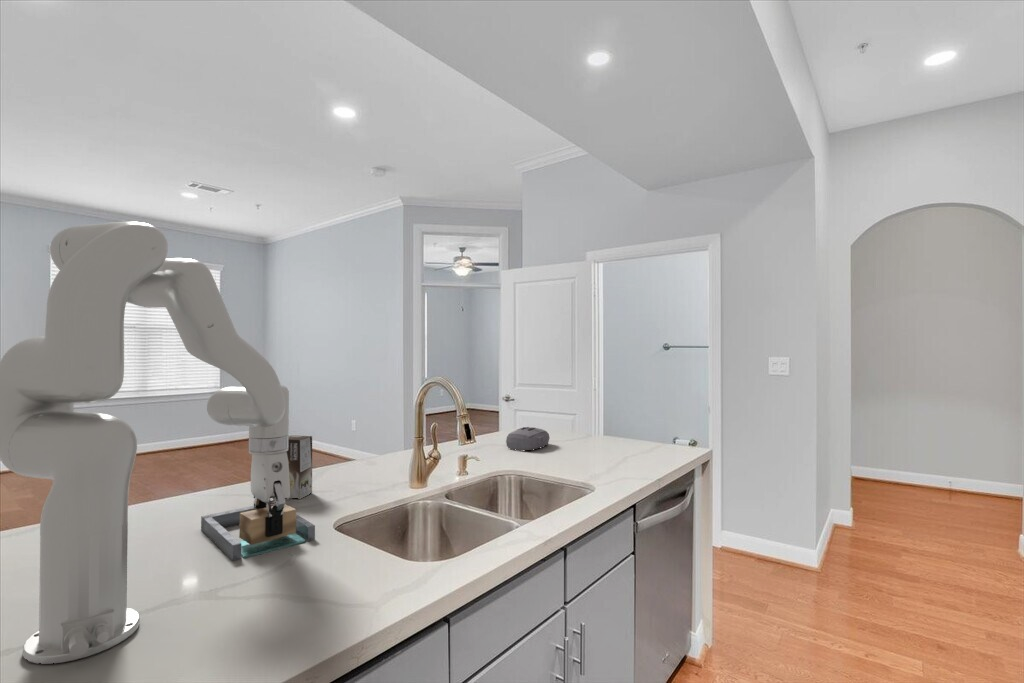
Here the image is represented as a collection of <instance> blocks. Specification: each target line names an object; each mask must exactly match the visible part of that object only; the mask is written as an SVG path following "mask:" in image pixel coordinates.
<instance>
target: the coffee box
mask: <svg viewBox="0 0 1024 683" xmlns="http://www.w3.org/2000/svg"><path fill="white" fill-rule="evenodd" d="M288 435H289V440H288V451H286V452H287V457H288V465H289V483H290V497H289V498H288V499H292V498H298V499H297V500H302V499H303V497H304V498H305V496H306V497H307V495H308V496H310V495H311V494H310V493H312V494H313V436H312V435H292V434H291V435H290V434H288ZM309 494H310V495H309ZM301 498H302V499H301Z"/></svg>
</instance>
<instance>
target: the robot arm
mask: <svg viewBox="0 0 1024 683" xmlns="http://www.w3.org/2000/svg"><path fill="white" fill-rule="evenodd" d="M168 251H169V245H168V240H167V238H166V235H165V234H164V233H163V232H162V231H161V230H160V229H159V228H157V227H156V226H154V225H151V224H149V223H146V222H141V221H140V222H139V221H117V222H116V221H115V222H113V221H112V222H105V223H104V222H103V223H96V224H95V223H93V224H81V225H80V224H79V225H75V226H70V227H67V228H64V229H62V230H60V231H59V232H58V233H57V234H55V235H54V237H53V238H52V240H51V241H50V246H49V253H50V257H51V258H50V259H51V260H52V262H53V264H54V265H55V266H56V268H57V269H58V270H59V271H58V273H56V275H55V277H54V279H53V281H52V282H51V284H50V288H49V292H48V295H47V298H46V299H47V301H46V312H45V314H46V315H45V329H44V330H45V331H44V333H45V334H44V336H43V335H42V336H35V337H30V338H26V339H23V340H22V341H18V343H16V344H14V345H12V346H11V347H10V348H9V349H8V350H7V351H6V352H5V353H4V355H3V356H2V358H1V360H0V461H1V463H2V464H3V466H4V467H5V468H6V469H8V470H9V471H11V472H13V473H14V474H16V475H20V476H23V477H27V478H28V477H29V478H34V479H46V480H52V485H51V488H50V489H49V492H48V494H47V496H46V499H45V501H44V503H43V507H42V509H41V515H40V521H39V522H40V523H39V541H40V542H39V595H38V596H39V603H38V604H39V607H38V609H39V611H38V616H39V618H38V631H36V632H35V633H33V634H32V635H30V636H29V638H28V639H26V641H25V642H24V644H23V646H22V655H23V658H24V659H25V660H26V659H27V660H28V661H27V660H26V661H27V662H29V663H34V664H39V663H41V664H40V665H50V664H51V665H52V664H53V663H54V664H61V663H65V662H67V663H68V662H72V661H75V660H79V659H80V660H81V659H83V658H88V657H91V656H93V655H96V654H98V653H101V652H104V651H106V650H108V649H110V648H113V647H114V646H117V645H118V644H120V643H122V642H123V641H125V640H127V639H128V638H129V637H130V636H132V635H133V634H134V633H135V632H136V631H137V630H138V628H139V626H140V621H141V620H140V613H139V612H138V611H136V610H135V609H133V608H128V606H127V605H128V604H127V602H128V595H127V594H128V536H129V535H128V534H129V532H128V530H129V528H128V525H129V524H128V523H129V522H128V520H129V491H130V483H131V478H132V472H133V468H134V465H135V462H136V461H135V460H136V456H137V451H138V450H137V449H138V438H137V436H136V433H135V431H134V429H133V428H132V427H131V425H130V424H128V423H127V421H125V420H123V419H122V418H119V417H117V416H115V415H111V414H108V413H100V412H89V411H88V412H87V411H85V412H84V411H74V408H75V407H74V404H94V403H100V402H103V401H107V400H109V399H111V398H112V397H114V396H115V395H116V394H117V393H118V392H119V391H120V389H121V388H122V385H123V382H124V377H125V350H124V349H125V313H126V312H125V311H126V306H127V305H126V304H127V303H129V304H132V305H135V306H137V307H142V308H152V309H153V308H155V309H156V308H165V309H166V310H167V312H168V316H170V318H171V321H172V322H173V324H174V326H175V329H176V330H177V333H178V335H179V337H180V339H181V341H182V343H183V345H184V347H185V348H184V349H185V350H186V351H187V352H188V353H189V354H190V355H191V356H193V357H194V358H196V359H198V360H200V361H202V362H203V363H205V364H209V365H211V366H213V367H215V368H217V369H220V370H221V371H223V372H225V373H227V374H229V375H230V376H232V378H234V379H235V380H236V381H237V382H238V383H239V384H240V385H242V386H227V387H222V388H220V389H218V390H217V391H215V392H214V393H213V394H211V396H210V397H209V399H208V401H207V403H206V404H207V405H206V411H207V414H208V416H209V417H210V418H211V420H213V421H214V422H216V423H217V424H220V425H225V426H239V427H242V426H244V427H248V454H250V455H251V466H250V467H251V468H250V492H251V495H252V496H253V499H254V501H253V506H254V508H257V509H261V508H265V507H266V508H267V516H268V517H266V518H265V536H266V537H271V536H275V535H279V534H282V532H283V508H284V505H285V504H286V500H289V499H290V498H289V497H290V483H289V465H288V457H287V452H286V451H288V440H289V435H290V434H289V433H290V432H289V430H290V429H289V428H290V426H289V425H290V422H289V421H290V418H289V416H290V415H289V414H290V407H289V406H290V393H289V392H290V391H289V389H288V387H287V386H285V385H282V384H281V382H280V380H279V378H278V375H277V372H276V371H275V369H274V368H273V366H272V364H271V363H270V362H269V361H268V359H267V358H265V357H264V356H263V355H262V354H261V353H260V352H259V351H258V350H256V348H254V347H253V345H252V344H250V343H248V342H247V341H246V340H245V339H243V338H242V337H241V336H240V335H239V334H238V332H237V330H236V328H235V326H234V323H233V321H232V318H231V315H230V314H229V312H228V309H227V307H226V305H225V302H224V299H223V297H222V295H221V292H220V290H219V287H218V286H217V283H216V281H215V278H214V276H213V274H212V272H211V271H210V269H209V267H208V266H207V265H206V264H205V263H204V262H202V261H200V260H196V259H192V258H183V257H174V258H173V257H171V258H170V257H169V258H167V256H168ZM274 497H275V499H273V498H274ZM271 499H273V500H271ZM271 504H276V505H274V506H273V508H272V510H271ZM254 510H256V509H254ZM54 664H53V665H54Z"/></svg>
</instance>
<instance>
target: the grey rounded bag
mask: <svg viewBox="0 0 1024 683" xmlns="http://www.w3.org/2000/svg"><path fill="white" fill-rule="evenodd" d="M549 442H550V434H549V432H548V431H546V430H545V429H543V428H539V427H532V426H531V427H530V426H526V427H522V428H521V427H520V428H517V429H516V430H513V431H511V432H510V433H508V435H507V436H506V440H505V444H506V447H507V448H508V449H509V448H511V449H516V450H533V449H537V448H540V447H543V446H545V445H546V446H548V445H549ZM547 444H548V445H547ZM546 446H545V447H546ZM543 448H544V447H543ZM511 449H510V450H511ZM516 450H515V451H516ZM533 451H534V450H533Z"/></svg>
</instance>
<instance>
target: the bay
mask: <svg viewBox="0 0 1024 683" xmlns="http://www.w3.org/2000/svg"><path fill="white" fill-rule="evenodd" d="M274 505H276V504H271V506H274ZM254 509H257V508H254V505H252V506H251V505H250V506H246V507H241V508H237V509H236V508H235V509H232V510H226V511H222V512H216V513H212V514H207V515H202V516H201V517H200V530H201V531H202V532H203V534H204V535H206V536H207V537H208V538H209V539H210V540H211V541H212V543H213V544H215V545H216V546H217V547H218V548H219V549H220V550H221V551H222V552H223V554H225V555H226V556H227V557H228V558H229V559H230V560H231V561H232V562H234V561H238V560H242V558H243V559H245V558H250V557H254V556H257V555H260V554H261V555H262V554H265V553H269V552H272V551H276V550H281V549H283V548H287V547H292V546H295V545H299V544H303V543H306V541H307V542H311V541H314V540H316V525H315V524H313V523H312V522H310V521H309V520H307V519H305V518H303V517H302V516H301V515H298V514H297V513H296V533H294V534H291V535H287V536H283V537H279V538H276V539H272V540H268V541H265V542H261V543H257V544H254V545H250V544H249V543H247V542H246V541H244V540H243V539H241V540H239V539H237V538H236V537H235V536H234V535H233V534H231V533H230V532H229V531H228V530H227V529H226V528H229V527H233V526H239V525H240V513H243V512H247V511H252V510H254Z"/></svg>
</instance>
